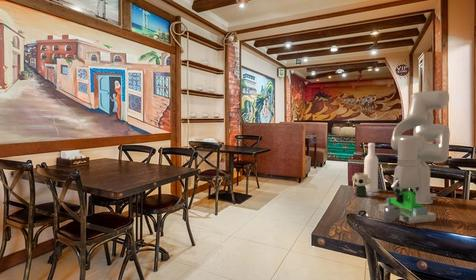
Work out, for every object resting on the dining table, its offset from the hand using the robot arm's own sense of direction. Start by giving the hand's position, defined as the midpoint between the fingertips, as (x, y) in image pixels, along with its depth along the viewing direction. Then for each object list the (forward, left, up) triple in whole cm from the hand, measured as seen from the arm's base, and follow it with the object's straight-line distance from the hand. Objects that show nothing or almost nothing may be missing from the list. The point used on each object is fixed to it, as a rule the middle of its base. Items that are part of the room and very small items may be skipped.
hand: (405, 201), depth 125 cm
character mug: (-1, -33, -7) cm, 34 cm away
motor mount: (+4, 0, -6) cm, 8 cm away
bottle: (-14, -41, -7) cm, 44 cm away
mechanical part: (0, 0, -2) cm, 2 cm away
